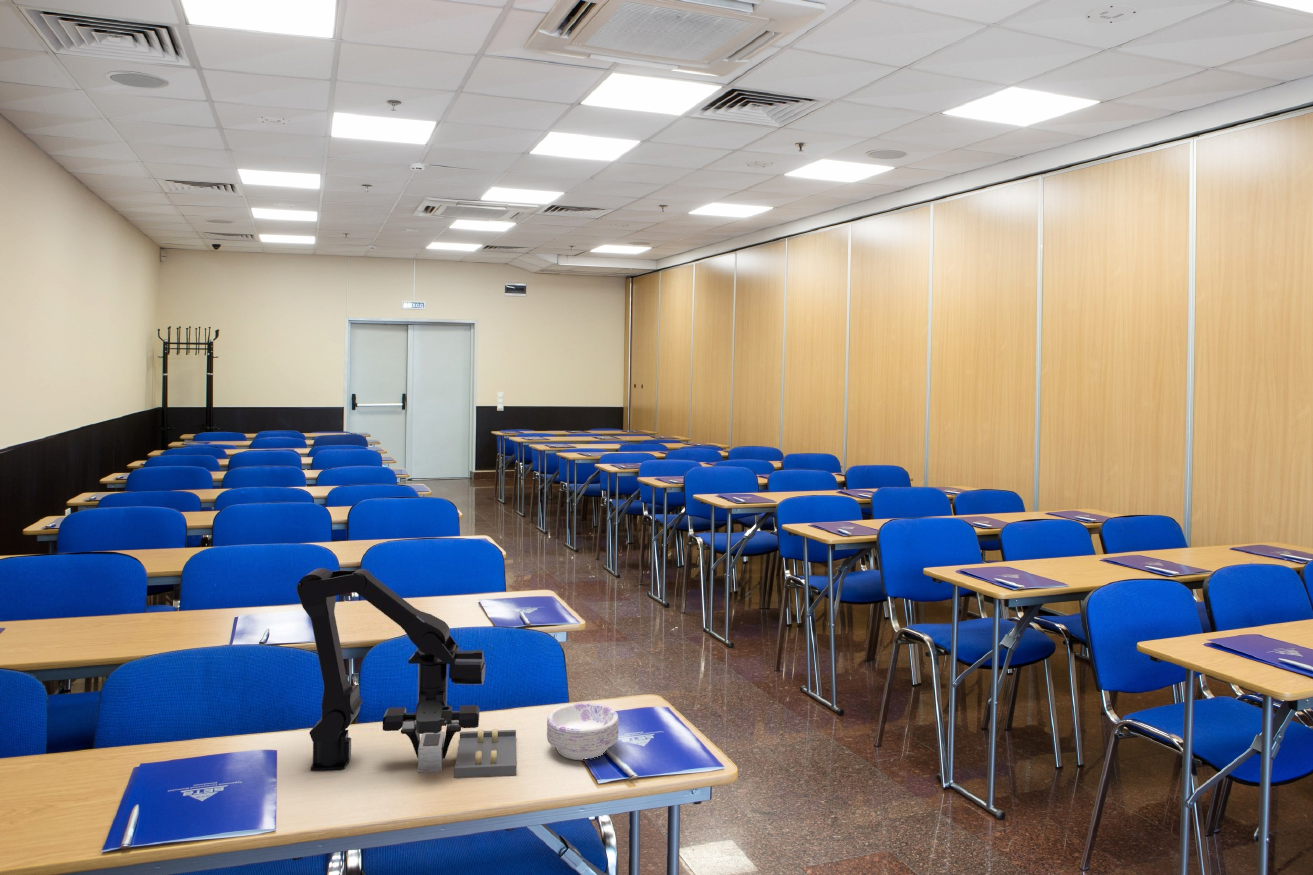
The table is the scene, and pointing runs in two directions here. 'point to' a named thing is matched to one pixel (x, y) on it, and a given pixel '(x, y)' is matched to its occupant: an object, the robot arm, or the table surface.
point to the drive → (431, 752)
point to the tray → (486, 754)
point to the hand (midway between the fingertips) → (431, 758)
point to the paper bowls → (582, 730)
